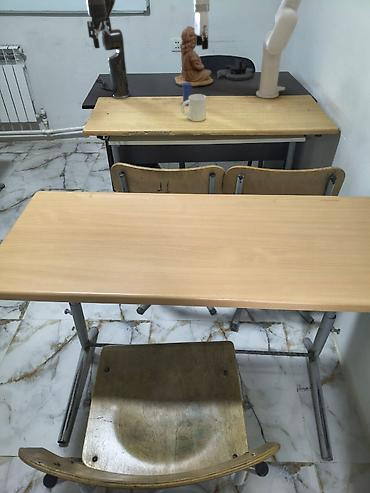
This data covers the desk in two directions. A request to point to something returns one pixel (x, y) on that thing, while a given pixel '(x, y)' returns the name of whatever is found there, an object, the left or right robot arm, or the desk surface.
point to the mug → (195, 107)
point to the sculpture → (192, 62)
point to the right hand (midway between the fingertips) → (202, 47)
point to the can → (187, 91)
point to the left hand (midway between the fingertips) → (102, 46)
